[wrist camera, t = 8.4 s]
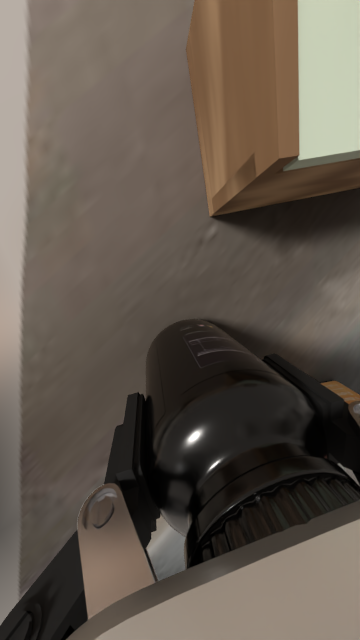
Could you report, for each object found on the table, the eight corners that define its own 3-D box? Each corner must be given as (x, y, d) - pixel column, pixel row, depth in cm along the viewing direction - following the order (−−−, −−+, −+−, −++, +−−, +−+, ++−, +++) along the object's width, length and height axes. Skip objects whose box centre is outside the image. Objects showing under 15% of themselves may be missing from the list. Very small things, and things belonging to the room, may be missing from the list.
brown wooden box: (373, 32, 12) (681, -289, 5) (361, 187, 15) (555, 113, 8) (186, 48, 11) (259, -363, 4) (209, 216, 13) (279, 158, 6)
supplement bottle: (216, 398, 16) (379, 708, 5) (138, 389, 15) (104, 811, 3) (241, 325, 15) (565, 521, 3) (157, 307, 13) (214, 553, 2)
